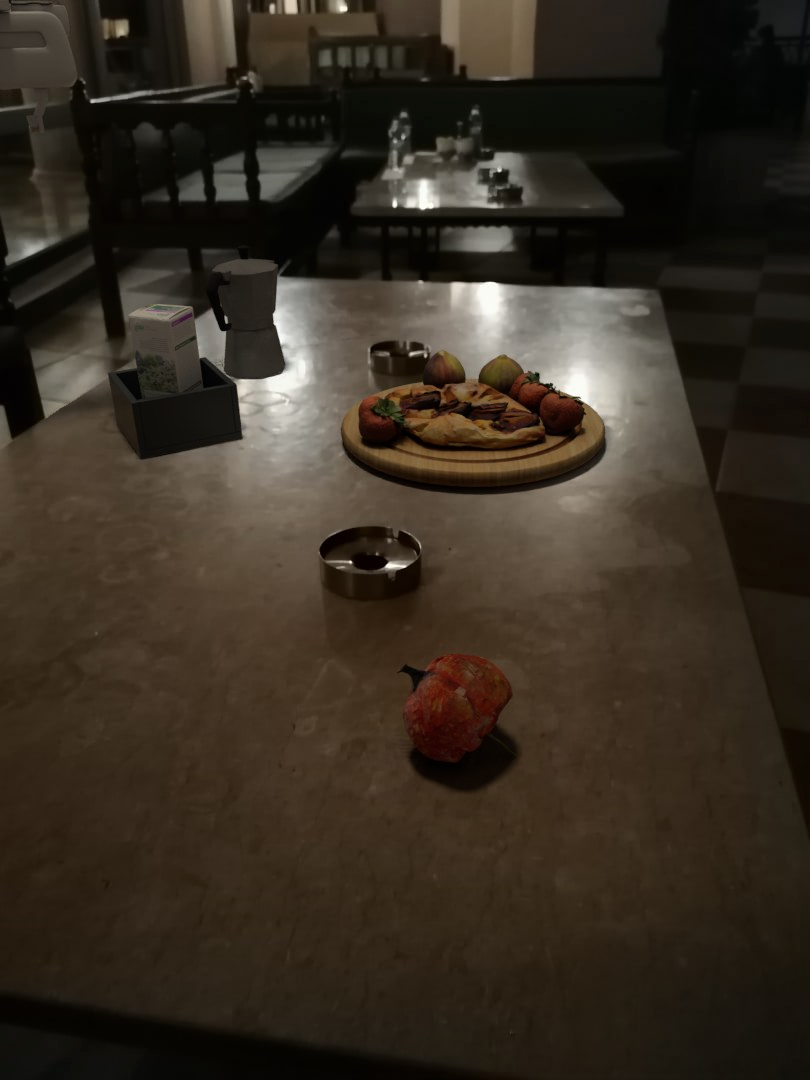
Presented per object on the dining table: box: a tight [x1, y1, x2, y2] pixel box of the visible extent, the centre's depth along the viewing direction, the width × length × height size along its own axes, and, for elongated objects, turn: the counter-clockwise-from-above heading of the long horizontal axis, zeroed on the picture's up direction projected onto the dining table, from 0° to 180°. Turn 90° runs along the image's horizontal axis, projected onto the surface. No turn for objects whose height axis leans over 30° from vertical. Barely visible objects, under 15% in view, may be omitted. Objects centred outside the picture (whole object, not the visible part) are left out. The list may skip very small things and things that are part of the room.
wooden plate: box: [340, 349, 606, 488], centre depth 109 cm, size 32×32×8 cm
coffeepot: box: [205, 244, 286, 380], centre depth 130 cm, size 15×9×18 cm, turn 153°
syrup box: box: [127, 303, 203, 399], centre depth 110 cm, size 6×6×14 cm
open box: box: [107, 356, 243, 460], centre depth 113 cm, size 13×13×7 cm
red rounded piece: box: [396, 653, 518, 764], centre depth 61 cm, size 7×7×10 cm
